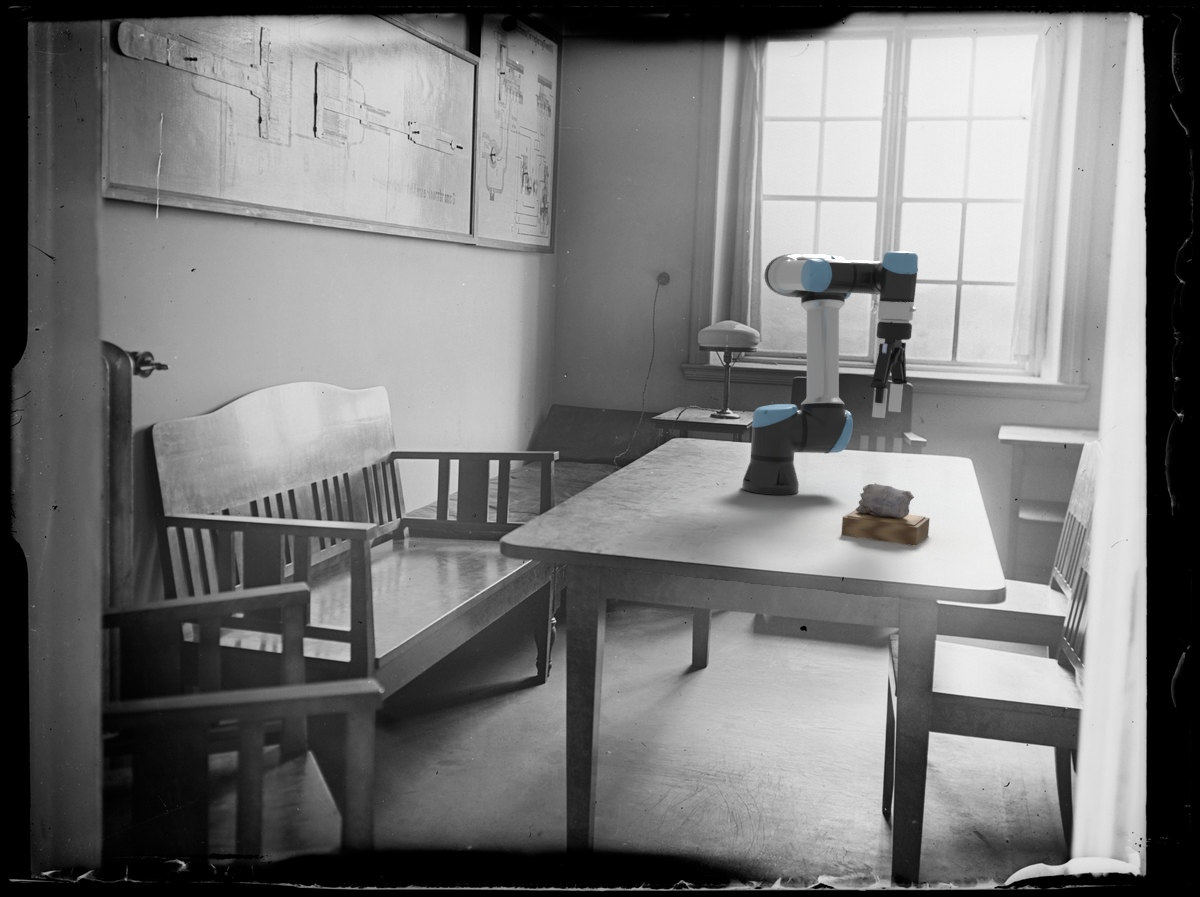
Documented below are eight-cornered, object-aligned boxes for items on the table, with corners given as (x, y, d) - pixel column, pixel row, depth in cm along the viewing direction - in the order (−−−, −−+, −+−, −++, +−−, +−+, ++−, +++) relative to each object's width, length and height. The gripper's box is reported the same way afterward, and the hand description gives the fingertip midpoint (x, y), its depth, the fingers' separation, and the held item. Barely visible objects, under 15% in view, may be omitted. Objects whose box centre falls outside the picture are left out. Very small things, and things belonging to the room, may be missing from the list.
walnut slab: (841, 534, 211) (842, 515, 210) (856, 525, 221) (858, 507, 220) (915, 545, 203) (917, 526, 202) (928, 535, 213) (929, 516, 212)
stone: (906, 522, 205) (908, 490, 204) (851, 514, 212) (854, 483, 211) (916, 517, 212) (919, 486, 211) (863, 509, 218) (866, 479, 217)
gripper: (897, 323, 204) (888, 421, 208) (925, 321, 225) (916, 410, 229) (862, 321, 208) (854, 418, 212) (892, 319, 229) (884, 407, 233)
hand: (886, 414), depth 220 cm, fingers open, 13 cm apart
